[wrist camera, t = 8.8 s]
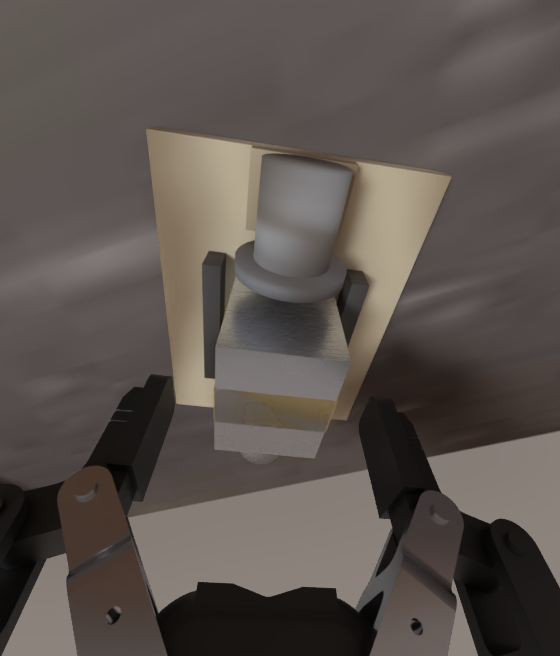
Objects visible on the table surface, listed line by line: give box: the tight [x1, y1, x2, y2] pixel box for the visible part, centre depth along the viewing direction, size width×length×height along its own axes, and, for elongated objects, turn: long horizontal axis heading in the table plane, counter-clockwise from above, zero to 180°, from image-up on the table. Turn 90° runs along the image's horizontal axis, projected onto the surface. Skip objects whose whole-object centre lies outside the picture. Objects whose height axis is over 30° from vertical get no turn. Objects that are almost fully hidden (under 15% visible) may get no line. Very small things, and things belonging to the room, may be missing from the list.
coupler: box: [213, 277, 351, 458], centre depth 14 cm, size 6×5×6 cm
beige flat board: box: [146, 127, 451, 464], centre depth 15 cm, size 12×16×6 cm
